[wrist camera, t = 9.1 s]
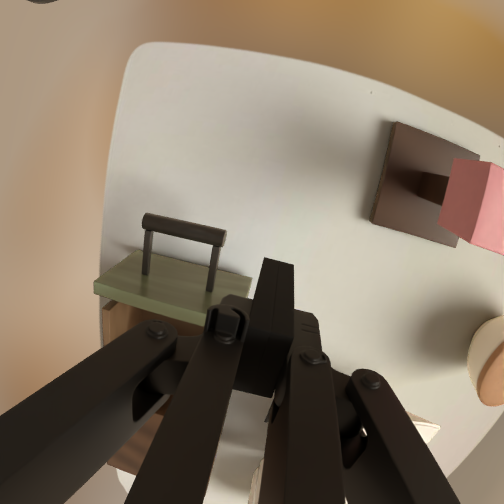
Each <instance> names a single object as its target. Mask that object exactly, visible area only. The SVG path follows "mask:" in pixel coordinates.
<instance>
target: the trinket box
mask: <svg viewBox="0 0 504 504" xmlns="http://www.w3.org/2000/svg"><path fill="white" fill-rule="evenodd" d="M467 367H468V373H469V377H470V380H471V382H472V384H473V386H474V388H475V390H476V392H477V395H478V397H479V399H480V400H481V402H482V403H483V404H485V405H487V406H499V405H502V404H504V315H503V316H499V317H497V318H493V319H490V320H488V321H486V322H485V323H484V324H482V325H481V326H480V327H479V328H478V330H477V331H476V332H475V334H474V336H473V338H472V340H471V345H470V348H469V351H468V358H467Z"/></svg>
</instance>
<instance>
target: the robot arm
mask: <svg viewBox="0 0 504 504" xmlns="http://www.w3.org/2000/svg"><path fill="white" fill-rule="evenodd" d="M232 389H235V390H239V391H243V392H247V393H251V394H255V395H259V396H264V397H268V398H272V395H273V393H274V390H275V394H274V399H273V402H272V404H271V407H270V409H269V412H268V414H267V417H266V419H265V421H264V422H268V430H267V438H266V446H265V454H264V462H263V470H262V477H261V485H260V492H259V499H258V504H346V502H345V498H346V500H347V503H348V504H460V502H459V500H458V498H457V496H456V495H455V493H454V491H453V489H452V488H451V486H450V484H449V482H448V481H447V479H446V477H445V475H444V474H443V472H442V470H441V469H440V467H439V465H438V463H437V462H436V460H435V458H434V457H433V455H432V453H431V452H430V450H429V448H428V447H427V445H426V443H425V442H424V440H423V438H422V437H421V435H420V433H419V432H418V430H417V429H416V427H415V425H414V424H413V422H412V420H411V419H410V417H409V416H408V414H407V412H406V411H405V409H404V408H403V406H402V404H401V403H400V401H399V400H398V398H397V396H396V395H395V393H394V392H393V390H392V389H391V387H390V385H389V384H388V382H387V381H386V380H385V379H384V377H383V376H381V375H380V374H378V373H377V372H375V371H372V370H369V369H357V370H356V371H354V372H353V373H352V375H351V377H350V376H348V375H345V374H343V373H340V372H338V371H336V370H334V369H333V368H332V367H331V363H330V360H329V357H328V356H327V355H326V354H325V353H324V352H322V346H321V338H320V331H319V323H318V320H317V319H316V317H315V316H314V315H313V313H309V312H304V311H300V310H296V309H294V265H293V264H289V263H285V262H281V261H277V260H273V259H269V258H265V257H264V260H263V264H262V268H261V271H260V275H259V279H258V283H257V287H256V291H255V294H254V298H253V300H252V299H249V298H245V297H241V296H237V295H233V294H228V295H227V296H225V297H223V298H222V300H221V302H220V304H216V305H213V306H211V307H210V308H208V309H207V315H206V320H205V325H204V331H203V333H202V334H201V335H198V336H179V335H178V332H177V330H176V328H175V327H174V326H173V325H171V324H170V323H168V322H165V321H162V320H156V319H151V320H145V321H142V322H140V323H138V324H137V325H135V326H134V327H132V328H131V329H129V330H128V331H126V332H125V333H123V334H122V335H120V336H119V337H117V338H116V339H114V340H113V341H111V342H110V343H108V344H107V345H105V346H104V347H102V348H101V349H99V350H98V351H96V352H95V353H93V354H92V355H90V356H89V357H87V358H86V359H84V360H83V361H82V362H80V363H78V364H77V365H76V366H74V367H72V368H71V369H69V370H68V371H66V372H65V373H63V374H62V375H61V376H59V377H57V378H56V379H54V380H53V381H52V382H50V383H48V384H47V385H45V386H44V387H42V388H41V389H40V390H38V391H37V392H35V393H34V394H32V395H31V396H29V397H28V398H26V399H25V400H23V401H22V402H20V403H19V404H17V405H16V406H14V407H13V408H11V409H10V410H8V411H7V412H5V413H4V414H2V415H1V416H0V504H64V503H65V502H66V501H67V500H68V499H69V498H70V497H71V496H72V495H73V494H74V493H75V492H76V491H77V490H78V489H79V488H81V487H82V486H83V485H84V484H85V483H86V482H87V481H88V480H89V479H90V478H91V477H92V476H93V475H94V474H95V473H96V472H97V471H98V470H99V469H100V468H101V467H102V466H103V465H104V464H105V463H106V462H107V461H108V460H109V459H110V458H111V457H112V456H113V455H114V454H115V453H116V452H117V451H118V450H119V449H120V448H121V447H122V446H123V445H124V444H125V443H126V442H127V441H128V440H129V439H130V438H131V437H132V436H133V435H134V434H135V433H136V432H137V431H138V430H139V429H140V428H141V427H142V426H143V425H144V424H145V423H146V422H147V421H148V420H149V419H150V418H151V417H152V416H153V414H154V413H155V412H156V411H157V410H158V409H159V408H160V407H161V406H162V405H163V404H164V403H165V402H166V401H167V400H168V399H169V397H170V395H173V397H172V400H171V402H170V404H169V406H168V408H167V410H166V413H165V415H164V417H163V419H162V421H161V423H160V426H159V428H158V430H157V432H156V434H155V436H154V439H153V441H152V443H151V445H150V447H149V450H148V452H147V454H146V456H145V458H144V460H143V463H142V465H141V467H140V469H139V471H138V474H137V476H136V478H135V480H134V482H133V485H132V487H131V489H130V491H129V494H128V496H127V498H126V500H125V503H124V504H203V500H204V496H205V492H206V489H207V485H208V481H209V477H210V473H211V470H212V466H213V462H214V458H215V454H216V451H217V447H218V443H219V439H220V435H221V431H222V427H223V424H224V420H225V416H226V412H227V408H228V404H229V400H230V396H231V392H232ZM268 420H269V421H268ZM363 428H364V429H365V431H366V434H367V435H366V434H365V433H364V431H363Z"/></svg>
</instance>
